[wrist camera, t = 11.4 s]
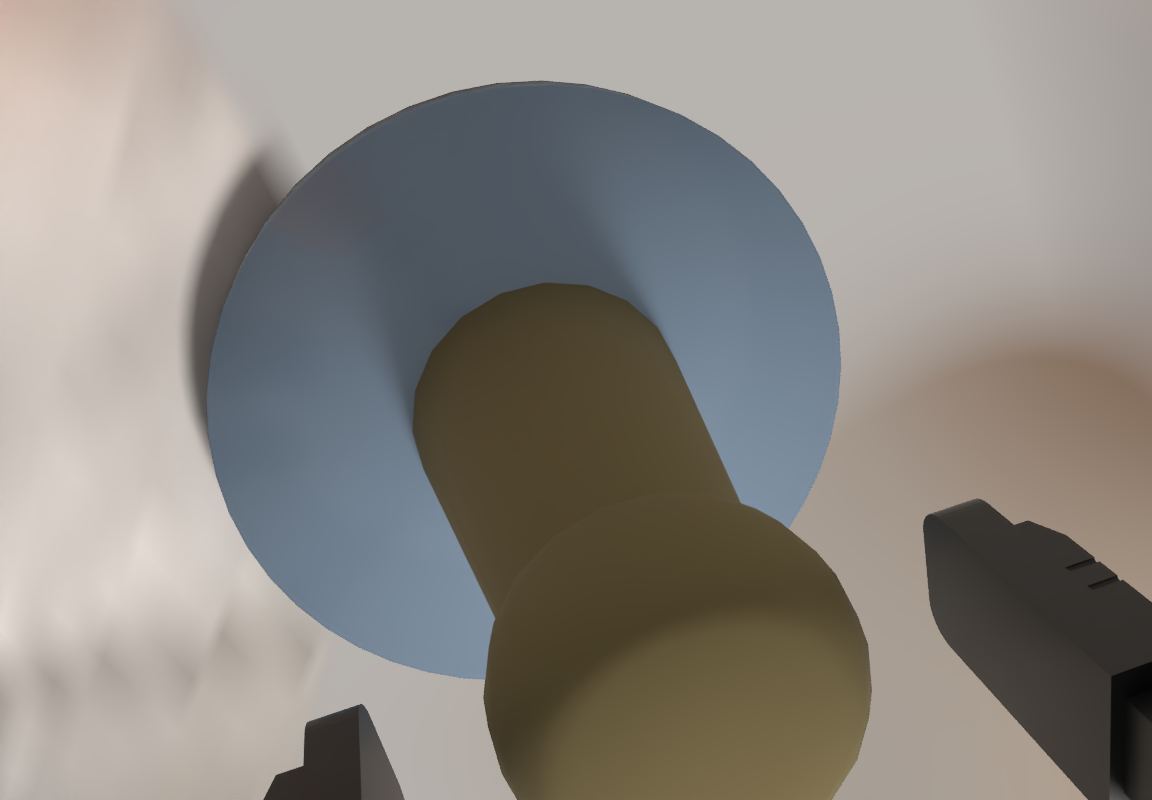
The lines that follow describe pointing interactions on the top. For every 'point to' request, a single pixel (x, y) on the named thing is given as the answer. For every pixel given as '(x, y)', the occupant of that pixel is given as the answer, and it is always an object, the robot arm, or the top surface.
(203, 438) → the top surface
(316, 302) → the slate plate
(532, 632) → the cork
